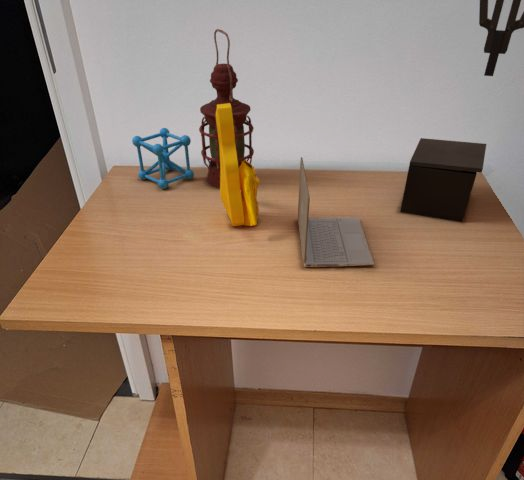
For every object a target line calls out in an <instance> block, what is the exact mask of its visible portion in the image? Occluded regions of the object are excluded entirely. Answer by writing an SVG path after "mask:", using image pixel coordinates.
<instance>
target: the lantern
mask: <svg viewBox="0 0 524 480" xmlns="http://www.w3.org/2000/svg"><path fill="white" fill-rule="evenodd" d="M217 32H218V33H221V34H222V35H225V37H226V40H227V51H226V52H227V53H226V63H219V49H218V44H217V36H216V35H217ZM213 39H214V44H215V45H214V46H215V51H216V52H215V53H216V63H215V65H214V67H213V71H212V72H211V73H210V79H209V83H210V84H211V86H212V89H215V90H216V98H215V99H212V100H211V101H210V102H208V103H205V104H203V105H202V106H200V108H199V111H200V114H202V116H203V117H202V119H201V124H200V126H199V128H198V131H199V133H200V136H201V146H202V149H201V151H200V155H201V156H202V161H203V164H204V165H205V166H206V168H207V177H206V182H207V184H208V185H210V186H212V188H217V189H220V149H219V139H218V131H217V123H216V109H217V105H218V104H227V103H230V104H231V107H232V115H233V124H234V135H235V146H236V153H237V160H238V168H239V167H240V165H241V164H242V161H244V160H246V161H248V162H249V163H250V164H252V162H253V156H254V154H255V150H254V148H253V147H252V143H253V142H252V141H253V140H252V138H253V137H252V134H253V131H254V129H255V128H254V126H253V124H252V119H251V117H250V116H249V115H248V114H249V113H250V112H251V109H252V108H251V106H250V105H249V104H247V103H245V102H242V101H240V100H239V99H235V98H234V91H233V90H234V89H235V88H236V87H237V83H238V82H239V78H237V73H236V71H234V67H233V66H232V64H230V59H229V58H230V46H231V42H230V37H229V35H228V33H227V32H226V31H224V30H222V29H220V28H216V29H215V30H214V33H213ZM244 125H246V126H248V131H246V132H245V126H244ZM207 126H208V132H205V127H207ZM246 136H248V144H246V143H245V137H246ZM206 137H208V139H209V141H208V142H209V145H206ZM246 148H247V149H248V155H245V152H246V151H245V149H246ZM207 150H209V152H210V156H208V155H207ZM206 160H207V161H206ZM207 162H208V163H207Z"/></svg>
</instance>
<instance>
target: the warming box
mask: <svg viewBox="0 0 524 480" xmlns="http://www.w3.org/2000/svg"><path fill="white" fill-rule="evenodd" d="M477 174H478V172H469V171H456V170H448V169H440V168H431V167H421V166H411V165H408V170H407V176H406V180H405V185H404V190H403V196H402V201H401V206H400V209H399V212H400V213H402V214H410V215H416V216H422V217H427V218H428V217H429V218H434V219H441V220H446V221H452V222H459V223H463V222H464V220H465V219H464V218H465V215H466V211H467V209H468V206H469V201H470V198H471V195H472V191H473V187H474V185H475V181H476V177H477Z"/></svg>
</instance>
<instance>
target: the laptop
mask: <svg viewBox="0 0 524 480" xmlns="http://www.w3.org/2000/svg"><path fill="white" fill-rule="evenodd" d="M309 191H310V190H309V186H308V180H307V175H306V170H305V164H304V160H303V157H302V156H301V157H300V161H299V182H298V203H297V204H298V205H297V224H298V230H299V239H300V245H301V255H302V262H303V267H305V268H321V267H323V268H324V267H325V268H327V267H329V268H330V267H353V266H354V267H355V266H374V265H375V262H374V259H373V256H372V254H371V250H370V247H369V245H368V242H367V239H366V235H365V233H364V230H363V227H362V223H361V221H360V218H359V217H358V216H355V217H354V216H351V217H350V216H349V217H346V216H345V217H344V216H343V217H342V216H341V217H336V216H333V217H310V199H311V197H310V192H309Z"/></svg>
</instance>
